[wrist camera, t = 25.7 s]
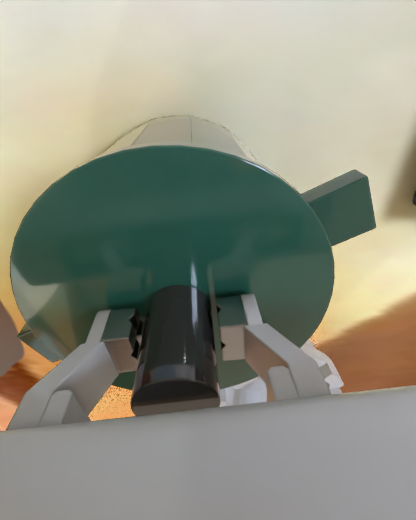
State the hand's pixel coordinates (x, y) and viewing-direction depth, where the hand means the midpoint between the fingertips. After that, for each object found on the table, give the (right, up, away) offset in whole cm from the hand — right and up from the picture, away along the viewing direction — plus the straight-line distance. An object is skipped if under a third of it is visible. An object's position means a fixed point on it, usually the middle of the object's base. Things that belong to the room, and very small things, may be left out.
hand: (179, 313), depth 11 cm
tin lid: (0, +1, +1) cm, 1 cm away
